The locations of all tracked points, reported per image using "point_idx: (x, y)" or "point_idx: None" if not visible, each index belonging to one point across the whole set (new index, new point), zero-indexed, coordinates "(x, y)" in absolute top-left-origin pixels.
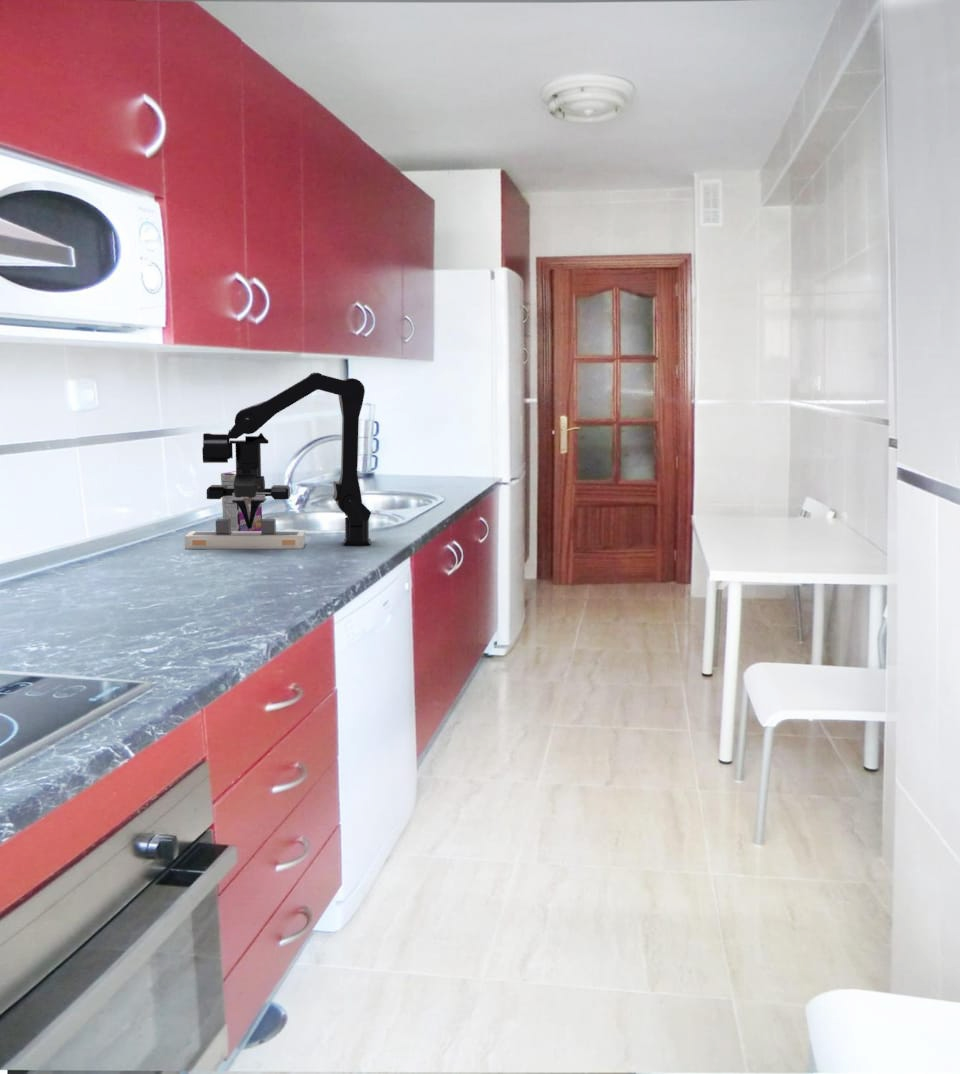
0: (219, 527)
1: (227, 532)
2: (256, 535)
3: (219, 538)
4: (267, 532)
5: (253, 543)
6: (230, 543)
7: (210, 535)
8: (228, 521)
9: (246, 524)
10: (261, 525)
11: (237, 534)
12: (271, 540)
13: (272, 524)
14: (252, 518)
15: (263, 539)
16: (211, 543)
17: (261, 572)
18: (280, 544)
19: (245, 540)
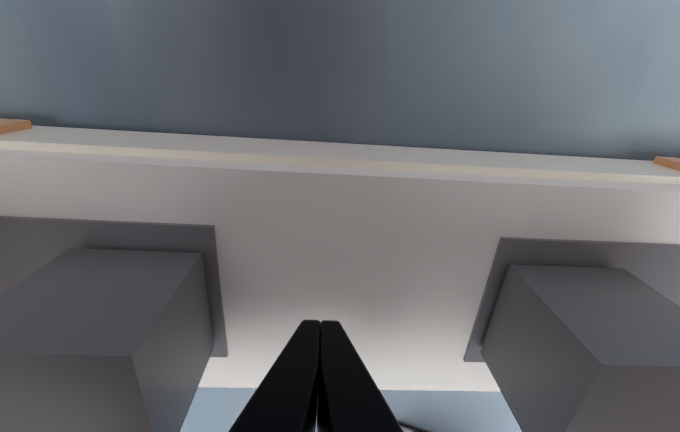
0: (641, 304)
1: (528, 269)
2: (245, 200)
3: (586, 182)
4: (135, 254)
5: (281, 144)
6: (473, 154)
7: (675, 222)
8: (597, 356)
9: (354, 349)
10: (163, 306)
11: (429, 264)
12: (103, 139)
13: (3, 310)
14: (265, 410)
15: (177, 148)
16: (622, 162)
17: None
18: (45, 128)
19: (350, 155)
